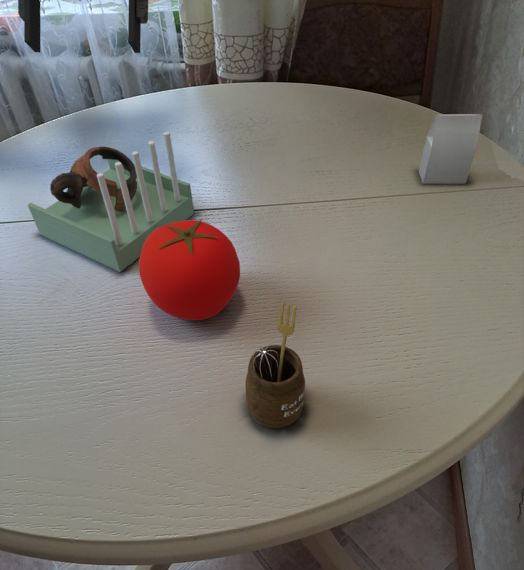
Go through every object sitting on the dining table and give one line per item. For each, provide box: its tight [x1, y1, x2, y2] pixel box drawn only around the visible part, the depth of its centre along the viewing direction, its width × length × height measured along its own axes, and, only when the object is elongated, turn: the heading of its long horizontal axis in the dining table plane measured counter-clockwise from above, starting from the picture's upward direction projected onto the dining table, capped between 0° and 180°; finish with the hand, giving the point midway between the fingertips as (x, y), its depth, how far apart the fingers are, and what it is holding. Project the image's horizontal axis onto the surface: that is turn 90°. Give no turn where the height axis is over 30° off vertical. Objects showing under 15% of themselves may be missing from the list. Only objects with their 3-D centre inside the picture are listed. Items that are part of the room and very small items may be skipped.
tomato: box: [138, 218, 241, 321], centre depth 59 cm, size 12×12×10 cm
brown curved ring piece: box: [49, 146, 137, 211], centre depth 70 cm, size 12×10×8 cm
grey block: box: [418, 113, 483, 185], centre depth 77 cm, size 4×7×10 cm, turn 89°
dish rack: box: [27, 131, 195, 273], centre depth 69 cm, size 16×16×13 cm
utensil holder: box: [245, 301, 306, 429], centre depth 48 cm, size 6×6×12 cm
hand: (83, 47), depth 65 cm, fingers open, 13 cm apart
